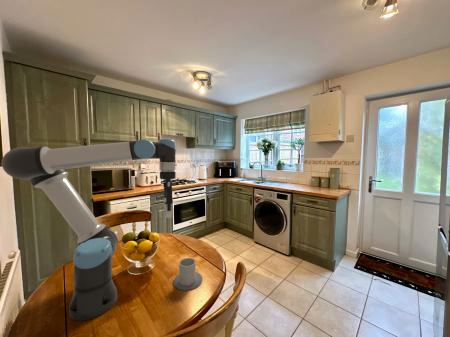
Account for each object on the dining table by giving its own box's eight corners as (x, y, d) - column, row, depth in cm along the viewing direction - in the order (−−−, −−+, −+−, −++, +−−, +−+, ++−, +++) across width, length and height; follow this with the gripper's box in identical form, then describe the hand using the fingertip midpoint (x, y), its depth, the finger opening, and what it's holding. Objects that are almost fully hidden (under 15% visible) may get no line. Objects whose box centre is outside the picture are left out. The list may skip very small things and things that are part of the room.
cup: (177, 286, 82) (177, 266, 82) (182, 272, 92) (182, 254, 92) (194, 286, 82) (194, 266, 82) (197, 272, 92) (197, 255, 92)
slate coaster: (175, 293, 79) (175, 292, 79) (172, 275, 91) (172, 274, 91) (205, 286, 83) (205, 285, 83) (198, 270, 95) (198, 269, 95)
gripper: (178, 172, 83) (178, 220, 84) (173, 169, 106) (173, 207, 107) (160, 172, 80) (160, 222, 81) (158, 169, 104) (159, 208, 105)
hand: (167, 213), depth 94 cm, fingers open, 13 cm apart
